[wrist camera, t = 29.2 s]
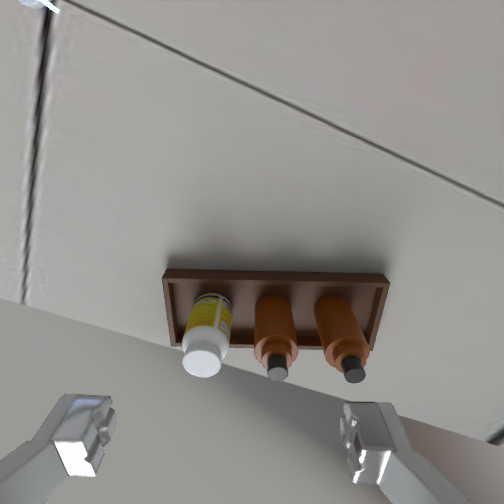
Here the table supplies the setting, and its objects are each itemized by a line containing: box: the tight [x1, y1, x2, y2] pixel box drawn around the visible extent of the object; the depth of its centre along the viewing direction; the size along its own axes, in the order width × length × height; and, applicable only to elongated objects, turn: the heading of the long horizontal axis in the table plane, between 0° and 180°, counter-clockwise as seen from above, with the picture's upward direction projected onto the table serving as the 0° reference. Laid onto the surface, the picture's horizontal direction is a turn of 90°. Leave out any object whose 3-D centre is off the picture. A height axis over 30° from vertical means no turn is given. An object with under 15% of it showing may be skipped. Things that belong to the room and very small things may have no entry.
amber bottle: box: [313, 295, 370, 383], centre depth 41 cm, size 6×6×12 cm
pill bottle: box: [182, 293, 233, 377], centre depth 42 cm, size 6×6×11 cm
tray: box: [162, 269, 390, 351], centre depth 46 cm, size 32×13×2 cm, turn 89°
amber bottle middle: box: [254, 294, 298, 381], centre depth 41 cm, size 6×6×12 cm
